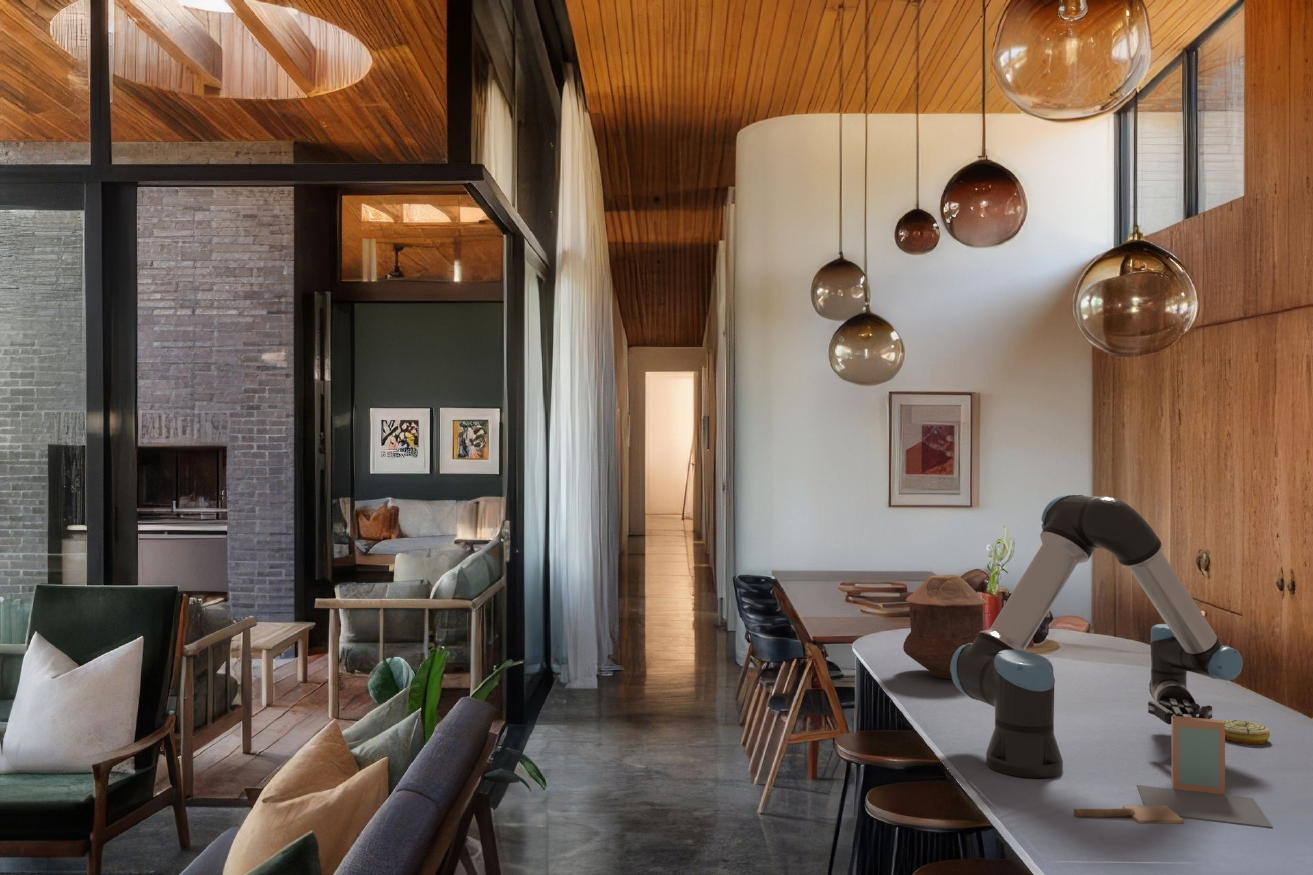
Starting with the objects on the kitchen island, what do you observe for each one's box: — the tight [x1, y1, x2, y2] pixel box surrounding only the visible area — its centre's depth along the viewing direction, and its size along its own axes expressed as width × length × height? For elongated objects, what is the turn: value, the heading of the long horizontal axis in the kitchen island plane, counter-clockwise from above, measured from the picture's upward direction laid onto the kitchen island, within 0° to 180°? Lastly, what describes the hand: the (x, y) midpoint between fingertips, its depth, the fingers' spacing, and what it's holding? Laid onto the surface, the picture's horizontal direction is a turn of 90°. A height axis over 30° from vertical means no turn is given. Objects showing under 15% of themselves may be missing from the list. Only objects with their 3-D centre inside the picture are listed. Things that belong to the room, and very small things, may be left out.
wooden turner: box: [1073, 805, 1184, 824], centre depth 180 cm, size 18×6×1 cm, turn 90°
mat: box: [1136, 784, 1274, 829], centre depth 185 cm, size 20×16×1 cm
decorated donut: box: [1223, 719, 1271, 745], centre depth 231 cm, size 10×11×4 cm
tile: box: [1170, 716, 1226, 795], centre depth 195 cm, size 9×2×14 cm, turn 70°
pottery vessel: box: [902, 574, 989, 680], centre depth 295 cm, size 26×26×30 cm
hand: (1191, 728), depth 204 cm, fingers closed
